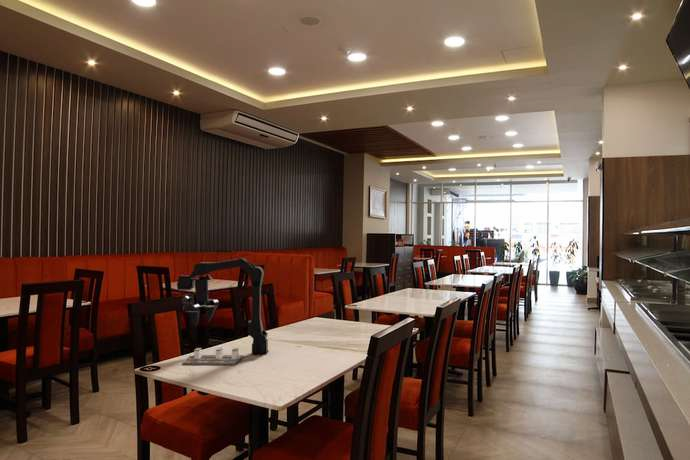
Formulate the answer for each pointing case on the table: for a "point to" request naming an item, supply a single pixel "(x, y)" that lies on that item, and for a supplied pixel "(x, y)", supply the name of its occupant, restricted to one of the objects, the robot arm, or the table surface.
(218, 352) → the breaker
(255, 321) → the robot arm
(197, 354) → the breaker
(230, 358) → the panel
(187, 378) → the table surface
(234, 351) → the breaker
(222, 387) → the table surface
